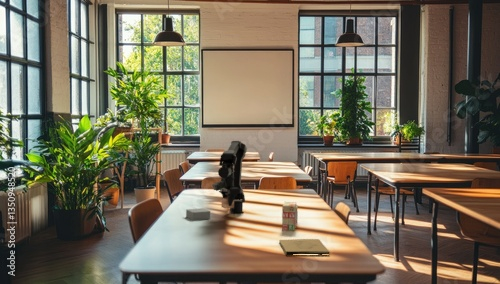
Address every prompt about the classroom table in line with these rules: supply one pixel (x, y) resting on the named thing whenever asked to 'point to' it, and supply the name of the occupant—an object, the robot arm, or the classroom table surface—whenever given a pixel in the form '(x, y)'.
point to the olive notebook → (303, 246)
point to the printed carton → (289, 215)
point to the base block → (198, 214)
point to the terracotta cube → (226, 203)
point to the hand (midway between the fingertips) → (227, 205)
